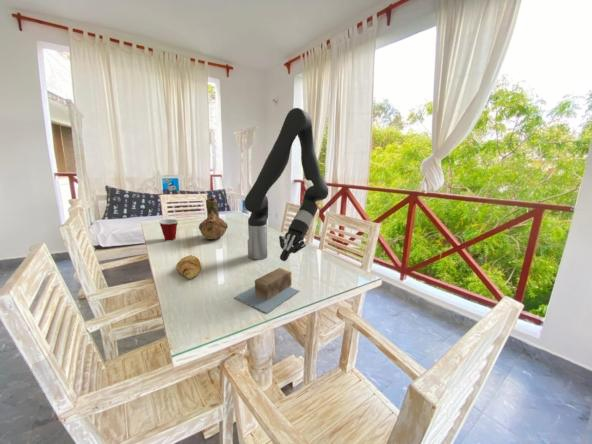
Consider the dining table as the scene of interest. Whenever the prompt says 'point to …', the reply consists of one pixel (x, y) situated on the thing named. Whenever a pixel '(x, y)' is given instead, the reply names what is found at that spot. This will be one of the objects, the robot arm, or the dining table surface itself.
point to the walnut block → (272, 283)
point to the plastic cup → (169, 228)
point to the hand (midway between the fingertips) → (282, 260)
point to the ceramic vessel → (213, 221)
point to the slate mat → (264, 304)
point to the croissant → (189, 266)
